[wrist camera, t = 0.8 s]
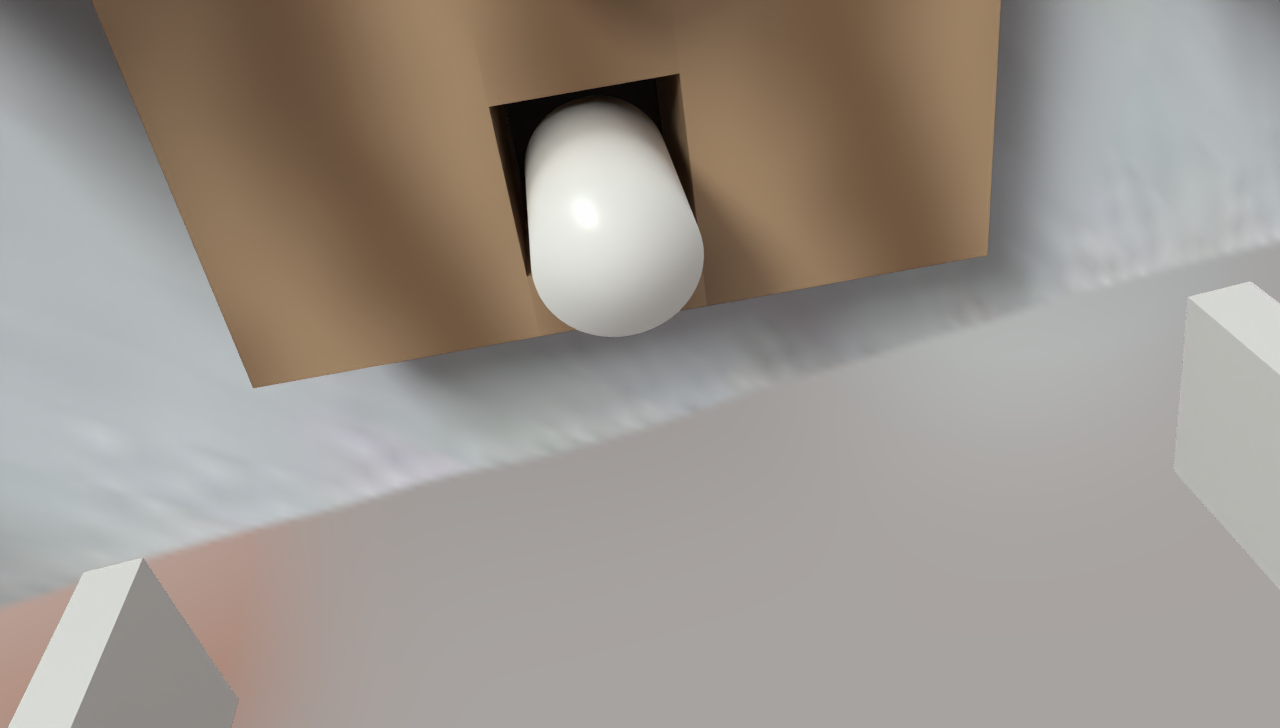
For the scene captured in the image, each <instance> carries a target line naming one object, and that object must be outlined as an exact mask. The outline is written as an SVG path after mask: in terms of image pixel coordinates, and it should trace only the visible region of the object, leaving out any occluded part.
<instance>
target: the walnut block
mask: <svg viewBox="0 0 1280 728" xmlns="http://www.w3.org/2000/svg"><path fill="white" fill-rule="evenodd" d="M91 1H92V4H93V6H94V8H95V11H96V13H97V16H98V18H99V20H100V23H101V25H102V28H103V30H104V32H105V35H106V37H107V39H108V42H109V44H110V47H111V49H112V51H113V54H114V56H115V59H116V61H117V63H118V66H119V68H120V71H121V73H122V75H123V78H124V80H125V83H126V85H127V87H128V90H129V92H130V95H131V97H132V99H133V102H134V104H135V106H136V109H137V111H138V114H139V116H140V118H141V121H142V123H143V126H144V128H145V130H146V133H147V135H148V138H149V140H150V142H151V145H152V147H153V150H154V152H155V154H156V157H157V159H158V161H159V164H160V166H161V169H162V171H163V173H164V176H165V178H166V181H167V183H168V185H169V188H170V190H171V193H172V195H173V197H174V200H175V202H176V205H177V207H178V209H179V212H180V214H181V217H182V219H183V221H184V224H185V226H186V228H187V231H188V233H189V236H190V238H191V240H192V243H193V245H194V248H195V250H196V252H197V255H198V257H199V260H200V262H201V264H202V267H203V269H204V272H205V274H206V276H207V279H208V281H209V284H210V286H211V288H212V291H213V293H214V295H215V298H216V300H217V303H218V305H219V307H220V310H221V312H222V315H223V317H224V319H225V322H226V324H227V327H228V329H229V331H230V334H231V336H232V339H233V341H234V343H235V346H236V348H237V350H238V353H239V355H240V358H241V360H242V362H243V365H244V367H245V370H246V372H247V374H248V377H249V379H250V382H251V384H252V386H253V388H257V387H263V386H268V385H274V384H279V383H285V382H290V381H296V380H301V379H307V378H312V377H318V376H323V375H329V374H334V373H340V372H345V371H351V370H356V369H362V368H367V367H373V366H379V365H384V364H390V363H395V362H401V361H406V360H412V359H417V358H423V357H428V356H434V355H439V354H445V353H450V352H456V351H461V350H467V349H472V348H478V347H483V346H489V345H495V344H500V343H506V342H511V341H517V340H522V339H528V338H533V337H539V336H544V335H550V334H555V333H561V332H566V331H572V330H577V329H575V328H573V327H571V326H569V325H567V324H566V323H564V322H563V321H561V320H560V319H558V318H557V317H556V316H555V315H554V314H553V313H552V312H551V311H550V310H549V309H548V308H547V307H546V305H545V304H544V302H543V301H542V299H541V298H540V296H539V294H538V292H537V290H536V288H535V284H534V281H533V277H532V270H531V258H530V243H529V228H528V213H527V197H526V182H521V178H520V173H519V169H518V164H517V159H516V155H515V150H514V146H513V141H512V136H511V132H510V127H509V122H508V118H507V113H506V109H505V104H508V103H513V102H519V101H525V100H530V99H536V98H542V97H548V96H553V95H559V94H565V93H570V92H576V91H582V90H587V89H593V88H599V87H605V86H610V85H616V84H622V83H627V82H633V81H639V80H645V79H650V78H655V80H656V87H657V95H658V102H659V110H660V118H661V125H662V133H663V140H664V142H665V145H666V147H667V150H668V152H669V155H670V157H671V160H672V162H673V165H674V167H675V170H676V173H677V175H678V178H679V180H680V183H681V185H682V188H683V190H684V193H685V195H686V198H687V200H688V203H689V205H690V208H691V210H692V213H693V215H694V218H695V221H696V223H697V226H698V228H699V231H700V234H701V237H702V242H703V247H704V262H703V269H702V273H701V277H700V280H699V282H698V285H697V287H696V289H695V291H694V293H693V294H692V296H691V297H690V299H689V300H688V302H687V303H686V304H685V305H684V306H683V307H682V308H681V310H680V311H682V310H688V309H693V308H699V307H704V306H710V305H715V304H721V303H726V302H732V301H737V300H743V299H749V298H754V297H760V296H765V295H771V294H776V293H782V292H787V291H793V290H798V289H804V288H809V287H815V286H820V285H826V284H831V283H837V282H842V281H848V280H853V279H859V278H865V277H870V276H876V275H881V274H887V273H892V272H898V271H903V270H909V269H914V268H920V267H925V266H931V265H936V264H942V263H947V262H953V261H958V260H964V259H969V258H975V257H980V256H986V255H988V237H989V218H990V199H991V180H992V161H993V142H994V123H995V104H996V84H997V65H998V46H999V27H1000V8H1001V0H91Z"/></svg>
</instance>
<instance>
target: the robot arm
mask: <svg viewBox="0 0 1280 728" xmlns="http://www.w3.org/2000/svg"><path fill="white" fill-rule="evenodd" d="M1173 470H1174V471H1175V473H1176V474H1177V475H1178V476H1179V477H1180V478H1181V479H1182V481H1183V482H1184V483H1185V484H1186V485H1187V486H1188V487H1189V488H1190V489H1191V491H1192V492H1193V493H1194V494H1195V495H1196V496H1197V497H1198V499H1200V501H1201V502H1202V503H1203V504H1204V505H1205V506H1206V508H1207V509H1208V510H1209V511H1210V512H1211V513H1212V514H1213V515H1214V516H1215V518H1216V519H1217V520H1218V521H1219V522H1220V523H1221V524H1222V526H1223V527H1224V528H1225V529H1226V530H1227V531H1228V532H1229V533H1230V535H1231V536H1232V537H1233V538H1234V539H1235V540H1236V541H1237V542H1238V543H1239V545H1240V546H1241V547H1242V548H1243V549H1244V550H1245V551H1246V553H1247V554H1248V555H1249V556H1250V557H1251V558H1252V559H1253V560H1254V562H1255V563H1256V564H1257V565H1258V566H1259V567H1260V568H1261V569H1262V571H1263V572H1264V573H1265V574H1266V575H1267V576H1268V577H1269V578H1270V580H1271V581H1272V582H1273V583H1274V584H1275V585H1276V586H1277V587H1278V588H1279V589H1280V303H1278V302H1277V301H1276V300H1274V299H1273V298H1272V297H1270V296H1269V295H1268V294H1266V293H1265V292H1264V291H1262V290H1261V289H1260V288H1258V287H1257V286H1256V285H1255V284H1253V283H1252V282H1246V283H1242V284H1238V285H1234V286H1230V287H1226V288H1222V289H1218V290H1214V291H1210V292H1206V293H1202V294H1198V295H1194V296H1190V297H1188V302H1187V315H1186V326H1185V338H1184V350H1183V361H1182V374H1181V386H1180V397H1179V410H1178V422H1177V433H1176V445H1175V457H1174V469H1173ZM238 700H239V699H238V698H237V697H236V695H235V694H234V692H233V690H232V689H231V687H230V686H229V685H228V683H227V682H226V680H225V679H224V677H223V676H222V674H221V673H220V671H219V670H218V668H217V667H216V665H215V664H214V662H213V661H212V659H211V658H210V656H209V655H208V653H207V652H206V651H205V649H204V647H203V646H202V645H201V643H200V641H199V640H198V639H197V637H196V636H195V634H194V633H193V631H192V630H191V628H190V627H189V625H188V624H187V622H186V621H185V619H184V618H183V616H182V615H181V613H180V612H179V610H178V609H177V608H176V606H175V604H174V603H173V602H172V600H171V598H170V597H169V596H168V594H167V592H166V591H165V590H164V588H163V586H162V585H161V583H160V582H159V581H158V579H157V578H156V576H155V575H154V573H153V572H152V570H151V569H150V567H149V566H148V564H147V563H146V561H145V560H144V558H139V559H135V560H131V561H127V562H123V563H119V564H115V565H111V566H107V567H103V568H99V569H95V570H91V571H87V572H84V573H83V575H82V577H81V579H80V581H79V583H78V585H77V587H76V589H75V591H74V593H73V595H72V597H71V599H70V601H69V604H68V605H67V608H66V609H65V612H64V614H63V616H62V618H61V620H60V622H59V624H58V626H57V628H56V630H55V632H54V634H53V636H52V638H51V640H50V643H49V644H48V646H47V649H46V651H45V653H44V655H43V657H42V659H41V661H40V663H39V665H38V667H37V669H36V671H35V673H34V675H33V677H32V679H31V681H30V683H29V685H28V687H27V690H26V692H25V694H24V696H23V698H22V700H21V702H20V704H19V706H18V708H17V710H16V712H15V714H14V716H13V718H12V721H11V722H10V724H9V727H8V728H231V727H232V723H233V719H234V715H235V711H236V708H237V704H238Z"/></svg>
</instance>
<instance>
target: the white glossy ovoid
mask: <svg viewBox="0 0 1280 728" xmlns="http://www.w3.org/2000/svg"><path fill="white" fill-rule="evenodd" d="M525 182H526V197H527V213H528V228H529V243H530V258H531V270H532V277H533V281H534V284H535V288H536V290H537V292H538V294H539V296H540V298H541V299H542V301H543V302H544V304H545V305H546V307H547V308H548V309H549V310H550V311H551V312H552V313H553V314H554V315H555V316H556V317H557V318H558V319H560V320H561V321H563V322H564V323H566V324H567V325H569V326H571V327H573V328H575V329H577V330H579V331H582V332H585V333H587V334H592V335H596V336H603V337H624V336H631V335H635V334H639V333H643V332H646V331H648V330H651V329H653V328H655V327H657V326H659V325H661V324H663V323H664V322H666V321H667V320H669V319H670V318H672V317H673V316H674V315H675V314H676V313H678V312H679V311H680V310H681V308H682V307H683V306H684V305H685V304H686V303H687V302H688V300H689V299H690V297H691V296H692V294H693V293H694V291H695V289H696V287H697V285H698V282H699V280H700V277H701V273H702V269H703V262H704V247H703V242H702V237H701V234H700V231H699V228H698V226H697V223H696V221H695V218H694V215H693V213H692V210H691V208H690V205H689V203H688V200H687V198H686V195H685V193H684V190H683V188H682V185H681V183H680V180H679V178H678V175H677V173H676V170H675V167H674V165H673V162H672V160H671V157H670V155H669V152H668V150H667V147H666V145H665V142H664V140H663V137H662V135H661V133H660V131H659V129H658V128H657V126H656V125H655V123H654V122H653V121H652V120H651V119H650V118H649V116H648V115H647V114H645V113H644V112H643V111H642V110H641V109H639V108H638V107H636V106H634V105H633V104H631V103H629V102H626V101H624V100H621V99H618V98H614V97H608V96H587V97H582V98H577V99H574V100H571V101H569V102H566V103H564V104H562V105H561V106H559V107H557V108H556V109H554V110H553V111H552V112H550V113H549V114H548V115H547V116H546V117H545V118H544V119H543V120H542V121H541V122H540V124H539V125H538V126H537V127H536V129H535V131H534V132H533V134H532V136H531V138H530V141H529V143H528V146H527V150H526V155H525Z"/></svg>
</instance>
